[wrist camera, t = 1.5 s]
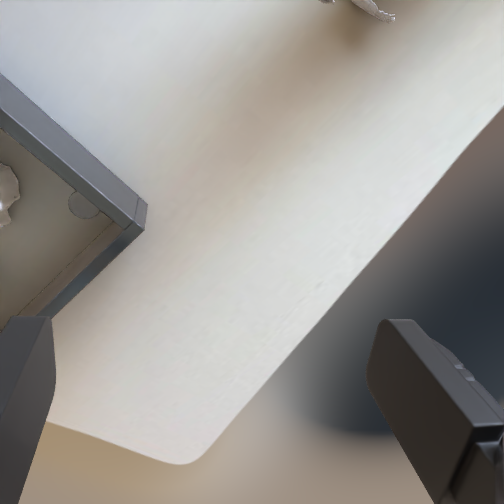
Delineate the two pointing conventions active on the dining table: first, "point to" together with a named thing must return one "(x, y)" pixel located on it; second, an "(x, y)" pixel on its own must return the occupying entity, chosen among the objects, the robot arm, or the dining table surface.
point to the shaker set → (7, 193)
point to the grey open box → (73, 196)
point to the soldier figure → (370, 9)
